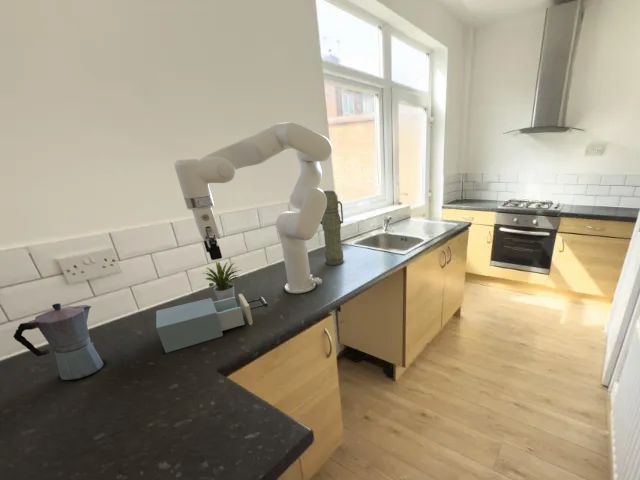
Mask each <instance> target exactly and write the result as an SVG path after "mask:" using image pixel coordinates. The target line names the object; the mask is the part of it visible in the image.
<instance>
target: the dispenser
mask: <svg viewBox="0 0 640 480" xmlns="http://www.w3.org/2000/svg"><path fill="white" fill-rule="evenodd" d="M213 302H214V301H213V298H212V297H209V298H204V299H199V300H196V301H192V302H187V303H183V304H179V305H174V306H171V307H166V308H162V309H158V310H156V312H155V324H156V325H155V329H156V331H157V334H158V336H159V339H160V342H161V344H162V347H163V350H164V353H165V354H167V353H170V352H174V351H177V350H180V349H184V348H187V347H190V346H194V345H197V344H200V343H205V342H207V341H211V340H214V339H217V338H221V337H224V334H223V331H222V330H221V326H220V323H219V319H218V316H217V312H216V309H215V307H214V304H213Z"/></svg>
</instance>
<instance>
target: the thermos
mask: <svg viewBox="0 0 640 480" xmlns="http://www.w3.org/2000/svg"><path fill="white" fill-rule="evenodd" d="M322 191H323V192H324V193H325V195H326V198H327V206H326V210H325V213H324V215H323V217H322V220H321V222H320V225H322V230H323V238H324V245H325V247H324V248H325V251H324V257H325V260H326V261H325V263H326V265H327V266H339V265H341V264H343V263H344V251H343V248H342V239H341V228H342V224H344V213H343V212H344V211H343V210H344V209H343V203H342V202H341V200H338V196H337V194H336V193H337V192H336V191H334V190H322ZM338 204H339V205H340V214H339V210H338V209H339V205H338Z"/></svg>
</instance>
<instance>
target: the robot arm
mask: <svg viewBox="0 0 640 480" xmlns="http://www.w3.org/2000/svg"><path fill="white" fill-rule="evenodd" d="M289 150H293V151H294V153H295V155H296V158H297V159H298V162H299V166H300V167H299V173H298V177H297V179H296V182H295V184H294V186H293V189H292V191H291V194H290V196H289V204H290V206H291V207H292V208H293V209H294V210H296V211H289V210H288V211H283V212H281V213H280V214H279V215H278V216H277V218H276V222H275V223H276V224H275V226H276V231H277V234H278V236H279V237H278V238H279V240H280V244H281V248H282V256H283V261H284V267H285V274H286V279H287V283H286V284H285V285H284V291H285V292H287V293H289V294H303V293H307V292H310V291H312V290H314V289H315V288H316V285H321V284H323V280H322V278H320V277H313V274H311V269H310V268H311V267H310V260H309V253H308V252H309V251H308V245H307V242H306V241H310V240H311V239H313V238H314V236H315V235H316V234H317V232H318V229H319V227H320V225H321V224H320V222H321V221H322V217H323V215H324V213H325V210H326V206H327V198H326V195H325V193H324V192H323V191H324V190H322V189H321V188H320V185H321V183H322V178H323V171H322V167H321V164H320V163H321V162H326V161H328V160H329V159H330V158H331V157H332V154H333V146H332V143H331V141H330V140H329V139H328V138H327V137H326V136H325V135H323V134H320V133H319V132H317V131H314V130H312V129H311V128H308V127H307V126H304V125H302V124H300V123H299V122H294V121H285V122H278V123H274V124H273V125H270V126H268V127H267V128H265V129H262V130H261V131H259V132H256V133H254V134H251V135H250V136H247V137H246V138H243V139H241V140H238V141H236V142H234V143H232V144H229V145H227V146H224V147H221V148H220V149H217V150H215V151H213V152H211V153H209V154H207V155H205V156H203V157H201V158H200V159H197V158H188V159H185V158H184V159H177V160H176V161H175V162H174V169H175V172H176V176H177V179H178V183H179V186H180V189H181V193H182V196H183V199H184V202H185V206H186V209H187V210H190V211H191V210H192V214H193V218H194V221H195V224H196V227H197V230H198V233H199V234H200V237H201V239H202V240H203V244H204V248H205V251H206V253H208V254H209V257H210V260H211V261H215V260H221V259H223V254H222V252H221V248H220V246H219V243H218V240H220V239H221V235H220V234H221V233H220V231H219V228H218V224H217V221H216V216H215V214H214V211H213V209H212V208H213V207H215V203H214V199H213V195H212V191H211V187H210V184H226V183H229V182H232V181H233V179H234V178H235V175H236V170H239V169H242V168H246V167H253V166H258V165H260V164H263V163H265V162H267V161H269V160H271V159H272V158H274V157H276V156H278V155H280V154H281V153H283V152H286V151H289ZM297 211H298V212H297ZM217 239H218V240H217Z"/></svg>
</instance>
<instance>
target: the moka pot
mask: <svg viewBox="0 0 640 480" xmlns="http://www.w3.org/2000/svg"><path fill="white" fill-rule="evenodd" d="M51 307H52V309H50V310H48V311H45V312H43V313H41V314H39V315H37V316H35V318H34V319H33V320H29V321H28V322H22V323H20V324H19V325H18V326H17V329H16V330H15V332H14V334H13V338H14V340H15V341H17V342H18V343H20V344H21V345H22V346H24V347H25V348H26V349H27V350H29V351H30V352H31V353H32V354H33V355H35V356H36V357H41V356H46V355H48V354H50V349H44V350H43V351H41V350H39V349H38V348H36V347H35V346H34V345H33V343H32V342H30V341H29V340H28V339H27V338H26V337H25V336H23V332H25V331H29V330H30V331H31V330H35V329H38V330H39V332H40V333H41V335H42V336H43V337H44V339H45V340H46V342H47V343H48V344H49V345H50V347H51V348H52V350H53V351H54V356H55V360H56V364H57V368H58V373H59V376H60V379H61V380H62V381H63V380H64V381H71V380H78V379H82V378H85V377H87V376H90V375H92V374H94V373H96V372H98V371H99V370H101V369H102V368H103V366H104V362H103V359H102V358H101V357H100V355H99V353H98V351H97V350H96V347H94V346H95V343H94V342H93V341H92V342H91V338H90V332H89V328H88V318H89V313H90V309H91V308H92V305H88V304H80V305H68V306H63V307H62V305H61V303H58V302H57V303H54V304H52V305H51Z"/></svg>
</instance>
